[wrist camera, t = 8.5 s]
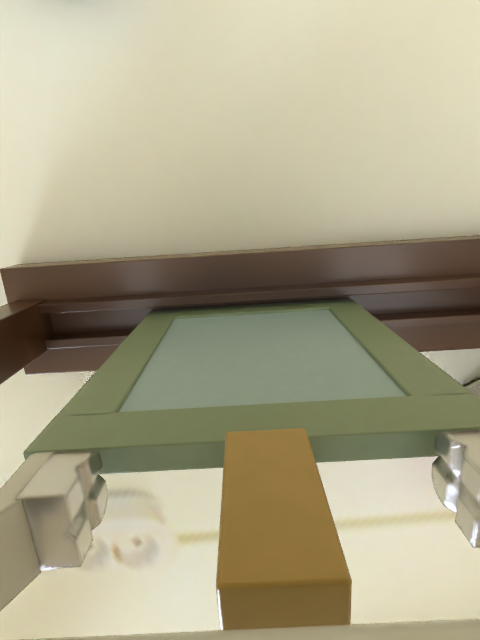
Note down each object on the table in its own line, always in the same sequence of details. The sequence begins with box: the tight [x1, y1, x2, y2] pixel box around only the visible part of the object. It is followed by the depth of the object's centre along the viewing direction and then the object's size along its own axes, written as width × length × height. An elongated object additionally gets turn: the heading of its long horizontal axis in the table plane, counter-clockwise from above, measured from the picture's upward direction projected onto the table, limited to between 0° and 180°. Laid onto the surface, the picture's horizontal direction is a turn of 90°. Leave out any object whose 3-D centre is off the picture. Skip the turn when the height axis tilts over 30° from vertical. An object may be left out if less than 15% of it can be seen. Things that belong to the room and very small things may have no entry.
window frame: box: [0, 235, 480, 384], centre depth 17 cm, size 7×34×17 cm, turn 94°
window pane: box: [23, 299, 480, 630], centre depth 14 cm, size 1×12×18 cm, turn 93°
